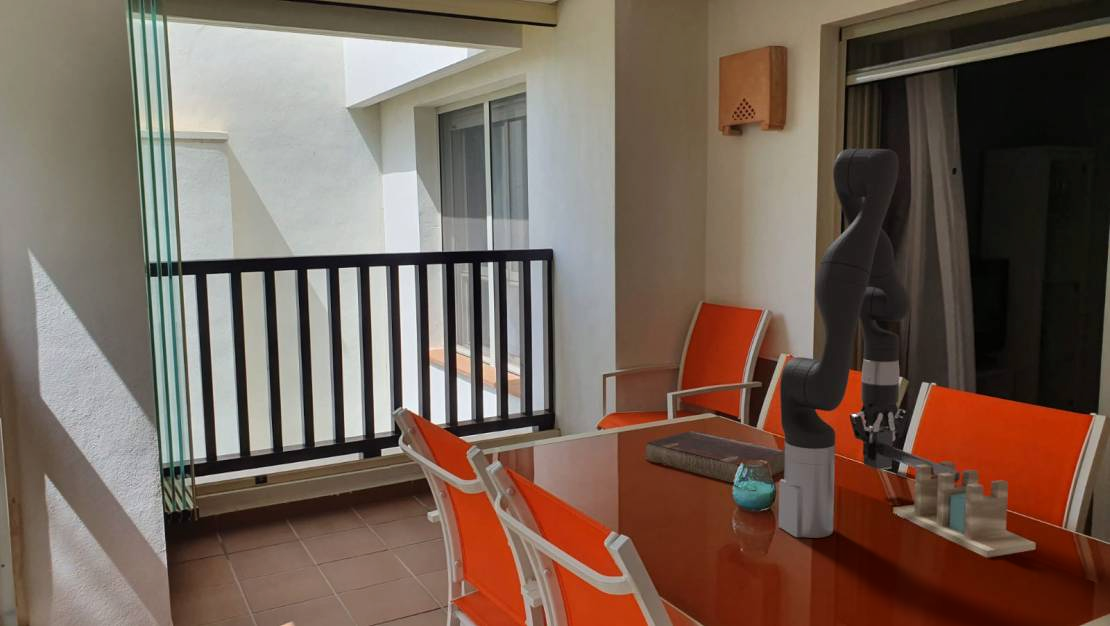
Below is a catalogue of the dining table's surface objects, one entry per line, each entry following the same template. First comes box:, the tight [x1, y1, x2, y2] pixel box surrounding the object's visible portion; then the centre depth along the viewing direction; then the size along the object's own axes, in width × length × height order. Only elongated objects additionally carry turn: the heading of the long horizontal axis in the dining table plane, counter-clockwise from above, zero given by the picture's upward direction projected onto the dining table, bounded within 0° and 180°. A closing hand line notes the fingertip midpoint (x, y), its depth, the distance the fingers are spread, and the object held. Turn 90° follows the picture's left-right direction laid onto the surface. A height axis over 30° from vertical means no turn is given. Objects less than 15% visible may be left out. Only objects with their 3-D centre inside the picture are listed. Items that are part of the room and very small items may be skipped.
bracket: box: [892, 460, 1036, 558], centre depth 162 cm, size 24×11×11 cm, turn 18°
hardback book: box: [645, 430, 785, 483], centre depth 208 cm, size 29×19×5 cm, turn 44°
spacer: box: [949, 493, 986, 533], centre depth 160 cm, size 4×6×6 cm, turn 108°
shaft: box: [863, 427, 961, 484], centre depth 175 cm, size 24×4×8 cm, turn 18°
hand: (878, 457), depth 185 cm, fingers closed on shaft, 4 cm apart
